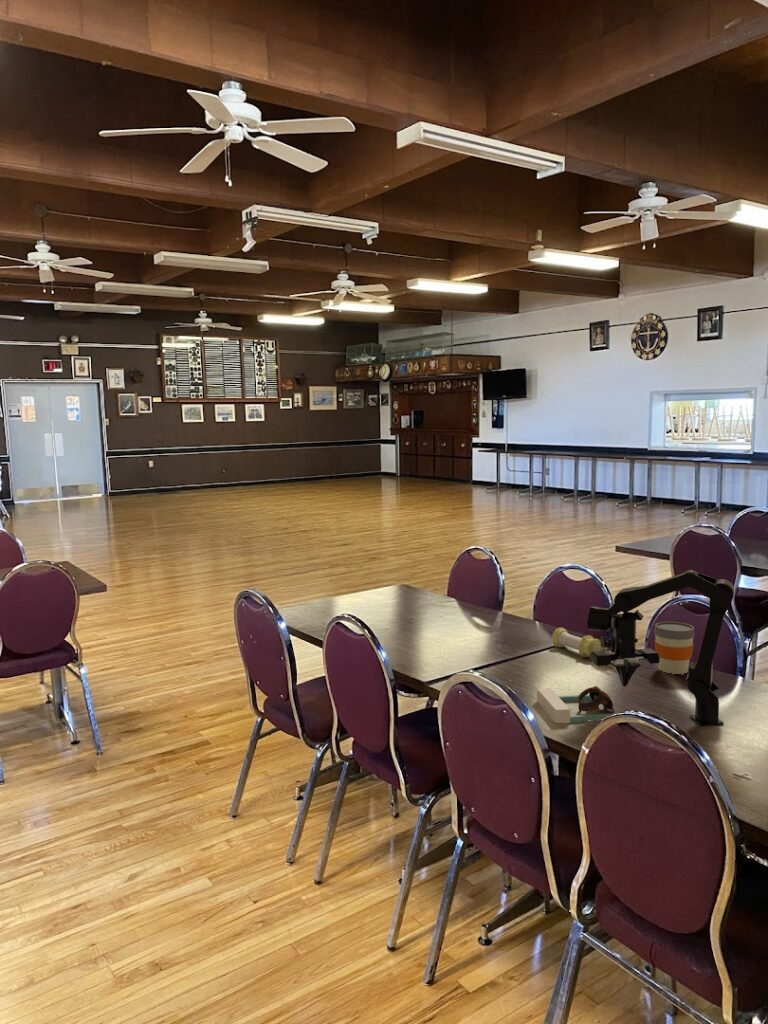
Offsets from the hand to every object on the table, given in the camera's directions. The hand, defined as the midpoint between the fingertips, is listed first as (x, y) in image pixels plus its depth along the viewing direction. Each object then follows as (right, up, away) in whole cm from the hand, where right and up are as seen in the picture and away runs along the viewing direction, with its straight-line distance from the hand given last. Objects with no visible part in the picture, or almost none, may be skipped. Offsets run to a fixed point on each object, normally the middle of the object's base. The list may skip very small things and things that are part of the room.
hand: (624, 686), depth 212 cm
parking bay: (-13, -7, -1) cm, 15 cm away
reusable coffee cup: (+27, -3, +33) cm, 43 cm away
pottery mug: (-8, -7, -2) cm, 11 cm away
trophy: (+3, -2, +49) cm, 49 cm away
